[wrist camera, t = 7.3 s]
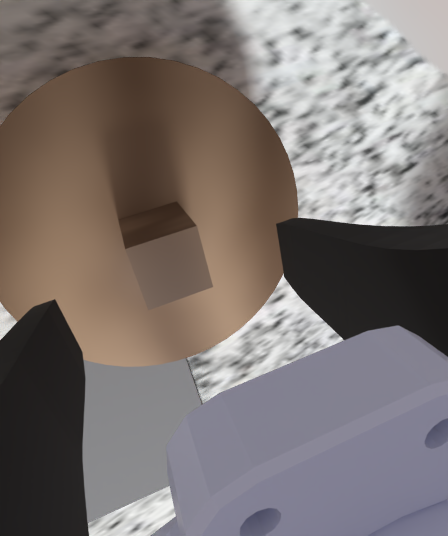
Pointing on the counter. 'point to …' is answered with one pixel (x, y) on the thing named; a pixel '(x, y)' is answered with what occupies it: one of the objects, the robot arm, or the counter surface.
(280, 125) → the counter surface
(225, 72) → the counter surface
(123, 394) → the mat
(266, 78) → the counter surface
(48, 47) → the counter surface
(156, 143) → the lid
